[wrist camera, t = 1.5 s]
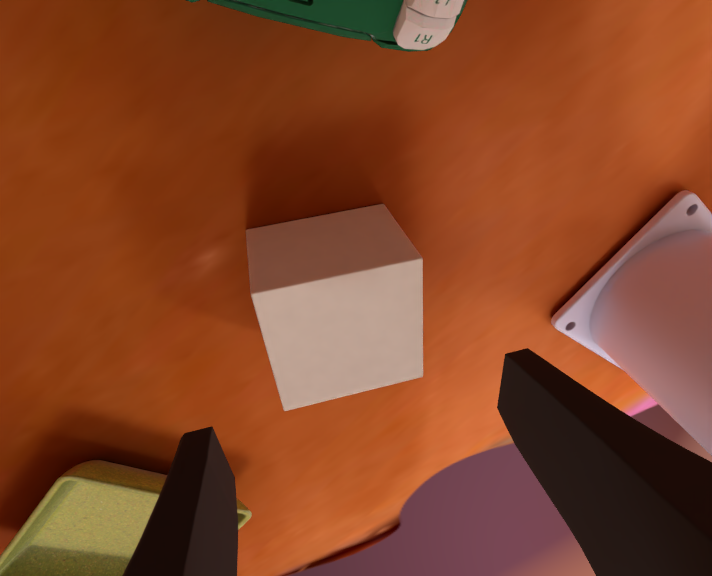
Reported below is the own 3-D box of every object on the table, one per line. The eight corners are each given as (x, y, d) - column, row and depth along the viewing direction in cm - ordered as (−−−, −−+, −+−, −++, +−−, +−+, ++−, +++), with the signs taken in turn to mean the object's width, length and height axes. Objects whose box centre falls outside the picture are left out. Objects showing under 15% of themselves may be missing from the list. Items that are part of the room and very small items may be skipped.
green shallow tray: (254, 476, 23) (256, 515, 21) (168, 564, 26) (164, 604, 24) (75, 430, 19) (60, 474, 17) (-6, 542, 21) (-26, 590, 19)
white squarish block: (383, 202, 16) (423, 257, 13) (390, 310, 19) (423, 377, 16) (245, 229, 15) (250, 293, 12) (274, 336, 18) (284, 412, 15)
